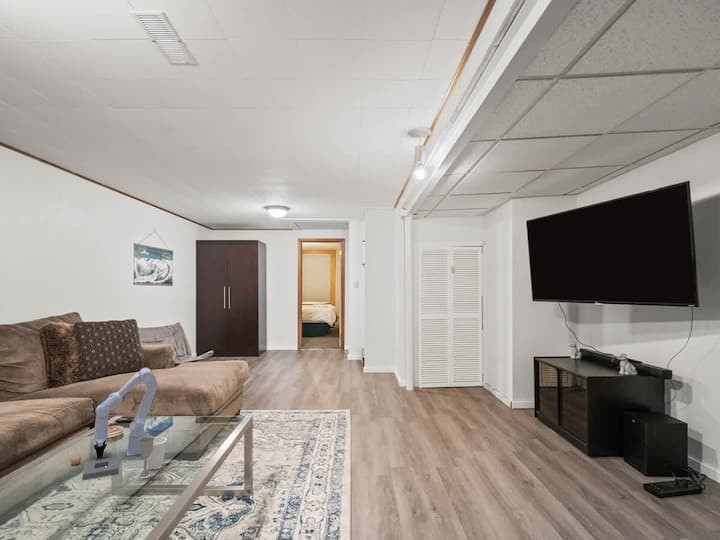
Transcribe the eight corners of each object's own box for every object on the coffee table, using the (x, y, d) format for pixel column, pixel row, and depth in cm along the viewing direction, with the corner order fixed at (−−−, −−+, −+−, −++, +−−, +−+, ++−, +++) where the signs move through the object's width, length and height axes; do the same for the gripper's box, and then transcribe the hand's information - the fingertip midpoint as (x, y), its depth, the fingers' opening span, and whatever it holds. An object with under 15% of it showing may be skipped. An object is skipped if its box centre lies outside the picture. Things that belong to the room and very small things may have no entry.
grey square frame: (118, 461, 207) (118, 456, 207) (117, 473, 195) (118, 468, 195) (84, 466, 200) (85, 461, 200) (82, 479, 188) (82, 474, 188)
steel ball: (104, 456, 212) (105, 448, 212) (104, 459, 208) (104, 451, 208) (95, 457, 209) (96, 449, 210) (95, 460, 206) (95, 453, 206)
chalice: (156, 474, 195) (158, 437, 196) (144, 481, 189) (146, 442, 189) (144, 471, 198) (146, 434, 198) (132, 477, 191) (134, 439, 192)
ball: (81, 461, 205) (81, 453, 205) (80, 465, 201) (80, 456, 201) (71, 463, 203) (71, 455, 203) (70, 466, 199) (71, 458, 199)
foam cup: (156, 472, 197) (158, 445, 197) (140, 470, 199) (141, 443, 199) (169, 463, 207) (170, 438, 207) (153, 461, 208) (154, 436, 209)
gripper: (93, 424, 213) (91, 450, 213) (91, 434, 201) (89, 462, 200) (108, 422, 217) (107, 448, 217) (108, 432, 204) (106, 459, 204)
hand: (100, 455), depth 209 cm, fingers open, 7 cm apart
